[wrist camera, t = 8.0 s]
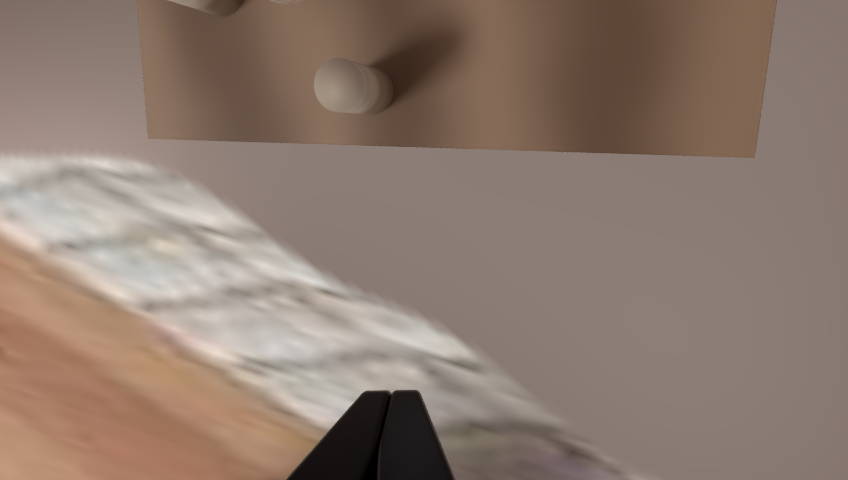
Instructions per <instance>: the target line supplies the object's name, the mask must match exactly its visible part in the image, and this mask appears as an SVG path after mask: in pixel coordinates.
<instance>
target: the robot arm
mask: <svg viewBox="0 0 848 480" xmlns="http://www.w3.org/2000/svg"><path fill="white" fill-rule="evenodd" d="M286 480H455V478H454V476H453V473H452V471H451V468H450V466H449V463H448V461H447V458H446V456H445V453H444V451H443V448H442V446H441V443H440V441H439V438H438V436H437V433H436V431H435V428H434V426H433V423H432V421H431V418H430V416H429V414H428V411H427V409H426V406H425V404H424V401H423V399H422V396H421V394H420V392H419V391H417V390H396V391H394V392H393V393H392V394H391V393H390V392H389V391H387V390H382V391H365V392H364V393H362V394H361V395H360V396H359V397H358V399H357V400H356V401H355V402H354V403H353V404H352V405H351V406H350V408H349V409H348V410H347V411H346V412H345V413H344V414H343V416H342V417H341V418H340V419H339V420H338V421H337V422H336V423H335V425H334V426H333V427H332V428H331V429H330V430H329V431H328V433H327V434H326V435H325V436H324V437H323V438H322V439H321V440H320V442H319V443H318V444H317V445H316V446H315V447H314V448H313V450H312V451H311V452H310V453H309V454H308V455H307V456H306V457H305V459H304V460H303V461H302V462H301V463H300V464H299V465H298V467H297V468H296V469H295V470H294V471H293V472H292V473H291V474H290V476H289V477H288V478H287V479H286Z"/></svg>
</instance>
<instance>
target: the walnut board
mask: <svg viewBox="0 0 848 480" xmlns="http://www.w3.org/2000/svg"><path fill="white" fill-rule="evenodd" d="M776 3H777V0H303V1H301V2H298V3H295V4H279V3H276V2H273V1H271V0H137V6H138V19H139V32H140V44H141V56H142V68H143V79H144V80H143V81H144V93H145V105H146V117H147V130H148V138H149V139H177V140H179V139H180V140H208V141H209V140H210V141H241V142H273V143H304V144H334V145H335V144H336V145H366V146H398V147H429V148H461V149H494V150H524V151H527V150H528V151H555V152H587V153H619V154H620V153H621V154H650V155H651V154H652V155H683V156H714V157H745V158H754V157H755V150H756V144H757V137H758V130H759V123H760V116H761V108H762V101H763V94H764V87H765V80H766V73H767V66H768V58H769V52H770V45H771V38H772V31H773V24H774V17H775V9H776Z"/></svg>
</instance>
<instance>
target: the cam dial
mask: <svg viewBox="0 0 848 480" xmlns="http://www.w3.org/2000/svg"><path fill="white" fill-rule="evenodd" d="M271 1H273V2H276V3H279V4H295V3H298V2H301V1H303V0H271Z"/></svg>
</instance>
